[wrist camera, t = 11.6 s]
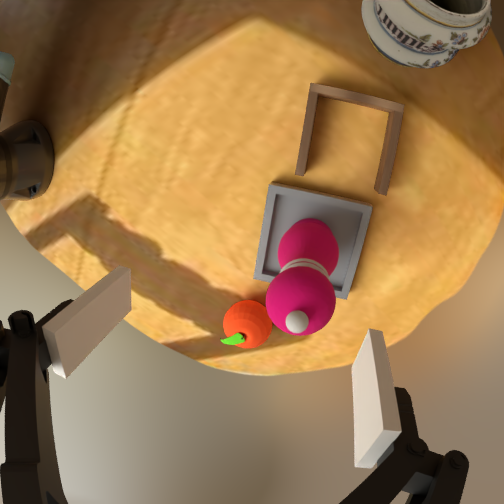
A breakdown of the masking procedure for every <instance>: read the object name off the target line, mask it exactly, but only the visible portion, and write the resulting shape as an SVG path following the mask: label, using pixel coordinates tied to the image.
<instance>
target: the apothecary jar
mask: <svg viewBox="0 0 504 504" xmlns="http://www.w3.org/2000/svg"><path fill="white" fill-rule="evenodd" d="M490 2H491V0H363V3H362V18H363V22H364V25H365V28H366V30H367V34H368V37H369V39H370V42H371V43H372V45H373V46H374V48H375V49H376V50H377V51H378V52H379V53H380V54H381V55H382V56H383V57H384V58H386V59H387V60H389V61H390V62H392V63H394V64H397V65H400V66H403V67H417V68H434V67H438V66H441V65H443V64H446V63H447V62H449V61H450V60H451V59H452V58H453V57H454V56H455V55H456V54H457V52H458V51H459V49H464V48H468V47H471V46H473V45H475V44H477V43H479V42H480V41H481V40H482V39H483V38H484V37H485V36H486V34H487V32H488V30H489V28H490V25H491V18H492V9H491V4H490Z"/></svg>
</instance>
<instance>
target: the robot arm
mask: <svg viewBox="0 0 504 504" xmlns="http://www.w3.org/2000/svg"><path fill="white" fill-rule="evenodd" d="M14 63H15V62H14V58H13V56H12V55H11V54H8V53H5V52H0V121H1V116H2V112H3V107H4V103H5V99H6V95H7V91H8V87H9V86H10V84H11V81H10V80H11V76H12V72H13V68H14ZM53 166H54V155H53V147H52V143H51V139H50V137H49V134H48V132H47V131H46V129H45V128H44V127H43V125H41V124H40V123H39V122H37V121H34V120H29V121H21V122H18V123H16V124H14V125H13V126H11V127H9V128H7V129H5V130H4V131H2V132H0V200H3V199H9V200H21V201H27V200H31V199H34V198H37V197H39V196H41V195H42V194H43V193H44V192H45V191H46V189H47V188H48V186H49V184H50V181H51V178H52V173H53ZM130 311H131V269H129V268H126V267H123V266H118V267H117V268H115V269H114V270H113V271H111V272H110V273H109V274H108V275H106V276H105V277H104V278H102V279H101V280H100V281H98V282H97V283H96V284H95V285H93V286H92V287H91V288H89V289H88V290H87V291H86V292H84V293H83V294H82V295H81V296H79V297H78V298H77V299H75V300H71V299H70V300H67V301H64V302H62V303H61V304H60V305H58V306H57V307H56V308H55V309H53V310H52V311H50V313H48V314H47V315H46V316H44V317H43V318H42V319H40V320H39V321H38V322H37V323H36V324H35V322H34V318H33V314H32V313H31V312H29V311H27V310H20V311H16V312H14V313H12V314H11V315H10V316H9V318H8V322H9V325H10V329H11V330H10V329H5V328H3V324H2V321H1V320H0V412H1V408H2V405H3V402H4V399H5V396H6V399H5V455H6V456H5V457H6V460H5V463H3V464H1V466H0V477H1V488H2V497H3V504H68V502H67V500H66V498H65V495H64V492H63V489H62V484H61V479H60V474H59V468H58V462H57V456H56V450H55V442H54V435H53V426H52V416H51V405H50V390H49V372H48V369H47V368H48V367H49V366H50V365H51V364H52V366H53V369H54V372H55V373H56V374H58V375H60V376H62V377H64V378H67V377H68V376H69V375H70V374H71V373H72V372H73V371H74V370H75V369H76V368H77V367H78V366H79V364H80V363H81V362H82V361H83V360H84V359H85V358H86V357H87V356H88V355H89V354H90V353H91V352H92V350H93V349H94V348H95V347H96V346H97V345H98V344H99V343H100V342H101V341H102V340H103V339H104V338H105V337H106V336H107V335H108V333H109V332H110V331H111V330H112V329H113V328H114V327H115V326H116V325H117V324H118V323H119V322H120V321H121V320H122V319H123V318H124V317H125V316H126V315H127V314H128V313H129V312H130ZM352 381H353V382H352V383H353V404H354V434H355V436H354V439H355V467H362V468H372V467H373V466H374V464H375V463H376V462H377V465H378V467H377V469H376V470H375V471H374V472H373V473H372V474H371V475H370V476H368V478H367V479H365V481H363V482H362V483H361V484H360V485H359V486H358V487H357V488H356V489H355V490H354V491H353V492H351V493H350V494H349V495H348V496H347V497H346V498H345V499H344V500H343V501H341V502H340V503H339V504H390V502H391V501H392V500H393V499H394V498H395V497H396V495H397V494H398V493H399V492H400V491H401V490H402V491H405V492H408V493H410V495H409V497H408V499H407V501H406V503H405V504H459V503H460V500H461V496H462V493H463V489H464V485H465V481H466V477H467V473H468V468H469V461H468V459H467V457H466V456H465V455H464V454H463V453H462V452H460V451H457V450H452V451H449V452H448V453H447V454H446V455H445V456H443V455H440V454H437V453H434V452H432V451H429V449H428V446H427V444H426V443H425V442H424V441H423V440H422V439H420V438H419V436H418V431H417V426H416V420H415V415H414V414H413V413H414V411H413V407H412V401H411V397H410V395H409V394H408V392H407V391H406V389H405V388H399V387H394V384H393V379H392V374H391V369H390V364H389V359H388V354H387V350H386V345H385V341H384V336H383V332H382V331H379V330H374V329H368V332H367V334H366V337H365V339H364V341H363V343H362V346H361V348H360V350H359V352H358V355H357V357H356V359H355V361H354V363H353V366H352Z"/></svg>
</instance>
